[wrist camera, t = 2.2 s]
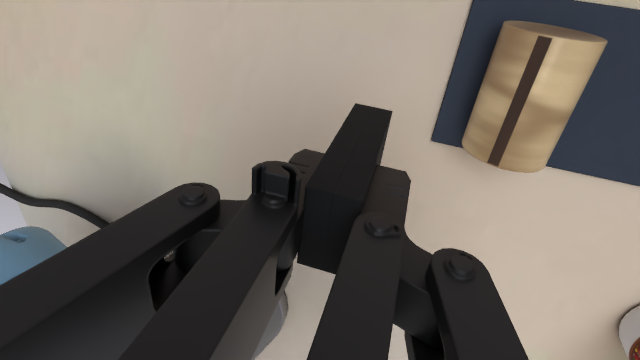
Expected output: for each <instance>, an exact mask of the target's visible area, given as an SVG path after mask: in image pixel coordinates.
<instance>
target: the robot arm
mask: <svg viewBox="0 0 640 360" xmlns="http://www.w3.org/2000/svg"><path fill="white" fill-rule="evenodd" d="M391 115H392V111H389V110H384V109H380V108H375V107H370V106H365V105H360V104H356V103H355V105H354V107H353V108H352V110H351V112H350V113H349V115H348V117H347V118H346V120H345V122H344V123H343V125H342V127H341V128H340V130H339V131H338V133H337V135H336V136H335V138H334V140H333V141H332V143H331V145H330V146H329V148H328V150H327V151H326V153H325V154H324V153H320V152H316V151H312V150H308V149H304V150H302V151H300V152H298V153H295V154H294V155H293V157H292V158H291V159H290V161H289V163H286V162H280V161H266V162H263V163H259V164H257V165H256V166H254V167H253V168H252V194H251V196H250V197H249V198H248V199H247V200H240V201H235V200H220V194H219V192H218V190H217V189H216V188H214V187H213V186H212V185H208V184H205V183H188V184H183V185H181V186H178V187H175V188H174V189H172V190H170V191H168V192H166V193H165V194H163V195H161V196H159V197H158V198H156V199H154V200H152V201H150V202H149V203H147V204H145V205H143V206H141V207H140V208H138V209H136V210H134V211H132V212H131V213H129V214H127V215H125V216H123V217H122V218H120V219H118V220H116V221H114V222H113V223H111V224H109V223H107V222H106V221H104V220H103V219H101V218H99V217H98V216H96V215H94V214H93V213H91V212H89V211H87V210H85V209H83V208H81V207H78V206H76V205H74V204H71V203H68V202H64V201H59V200H44V199H34V198H30V197H27V196H25V195H23V194H21V193H19V192H17V191H15V190H13V189H11V188H8V187H7V186H5V185H3V184H1V183H0V193H2V194H4V195H6V196H8V197H10V198H12V199H14V200H16V201H18V202H20V203H23V204H26V205H30V206H36V207H53V208H59V209H63V210H66V211H69V212H71V213H74V214H76V215H78V216H80V217H82V218H84V219H86V220H88V221H89V222H91V223H93V224H94V225H96V226H98V227H99V228H101V229H100V230H98V231H96V232H95V233H93V234H91V235H89V236H87V237H86V238H84V239H82V240H80V241H79V242H77V243H75V244H73V245H71V246H70V247H66V246H65V245H64V244H63V243H62V242H61V241H59V240H58V239H57V238H56V237H55V236H54V235H53V234H51V233H50V232H49V231H47V230H45V229H43V228H39V227H22V228H18V229H15V230H12V231H9V232H6V233H4V234H2V235H0V360H254V359H255V358H256V357H257V356H258V355H259V354H260V353H261V352H262V351H263V350H264V349H265V347H266V346H267V345H268V344H269V343H270V342H271V341H272V340H273V339H274V338H275V337H276V336H277V334H278V333H279V331H280V329H281V327H282V325H283V323H284V320H285V318H286V315H287V300H286V296H285V293H284V289H285V287H286V285H287V283H288V281H289V279H290V277H291V273H292V266H293V261H294V259H295V257H296V255H297V253H298V258H297V263H299V264H302V265H306V266H309V267H313V268H316V269H319V270H323V271H326V272H330V273H333V274H336V276H335V279H334V282H333V285H332V287H331V290H330V293H329V296H328V299H327V302H326V305H325V308H324V311H323V314H322V317H321V319H320V322H319V325H318V328H317V331H316V334H315V337H314V340H313V343H312V346H311V348H310V351H309V354H308V357H307V360H388V354H389V347H390V340H391V333H392V326H393V324H395V325H397V326H398V327H400V328H401V329H403V330H405V341H406V347H407V353H408V359H409V360H529V359H528V357H527V355H526V353H525V351H524V348H523V346H522V344H521V342H520V340H519V337H518V335H517V333H516V331H515V329H514V326H513V324H512V322H511V320H510V318H509V316H508V313H507V311H506V309H505V307H504V305H503V302H502V300H501V298H500V296H499V294H498V291H497V289H496V287H495V285H494V283H493V281H492V278H491V276H490V274H489V272H488V270H487V269H486V267H485V266H484V265H483V263H482V262H480V261H479V260H478V259H477V258H476V257H474V256H473V255H471V254H468V253H466V252H464V251H461V250H457V249H453V248H448V249H441V250H438V251H436V252H435V253H434V254H433V255H432V254H431V253H429V252H427V251H425V250H423V249H421V248H420V247H418V246H416V245H415V244H414V243H413V242H412V241H411V240H410V239H409V238H408V236H407V235H406V232H405V228H404V224H405V217H406V211H407V204H408V197H409V190H410V183H411V180H410V178H409V177H408V175H407V173H406V172H405V171H401V170H397V169H393V168H388V167H384V166H380V163H381V158H382V154H383V150H384V145H385V141H386V137H387V132H388V128H389V124H390V119H391ZM171 251H174V253H173V254H172V255H171V256H169V257H167V258H165V259H164V256H166V255H167V254H168V253H170V252H171Z"/></svg>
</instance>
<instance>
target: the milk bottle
mask: <svg viewBox="0 0 640 360" xmlns="http://www.w3.org/2000/svg"><path fill="white" fill-rule="evenodd" d="M619 338H620V341H621V343H622V345H623V348H624V350H625V352H626V354H627V357H628V359H629V360H640V305H639V306H637V307H636V308H634V309H632V310H631V311H630V312H628V313H627V314H626V315H625V316H624V318H623V319H622V320H621V323H620V325H619Z"/></svg>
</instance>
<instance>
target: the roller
mask: <svg viewBox="0 0 640 360" xmlns="http://www.w3.org/2000/svg"><path fill="white" fill-rule="evenodd" d="M607 43H608V41H607V40H606V39H604V38H602V37H599V36H596V35H593V34H590V33H586V32H582V31H578V30H573V29H569V28H564V27H559V26H553V25H548V24H541V23H534V22H526V21H505V22H503V25H502V28H501V31H500V33H499V36H498V39H497V42H496V45H495V48H494V50H493V53H492V56H491V59H490V62H489V65H488V68H487V70H486V73H485V76H484V79H483V82H482V85H481V87H480V90H479V93H478V96H477V99H476V102H475V105H474V107H473V110H472V113H471V116H470V119H469V122H468V125H467V127H466V130H465V133H464V136H463V139H462V145H463V147H464V149H465V150H466V151H467V152H468V153H469V154H471V155H472V156H474V157H475V158H477V159H479V160H481V161H483V162H485V163H487V164H489V165H492V166H495V167H498V168H501V169H505V170H509V171H514V172H524V173H531V172H537V171H540V170H542V169H543V168H544V167H545V166H546V164H547V162H548V160H549V158H550V156H551V154H552V152H553V150H554V148H555V146H556V144H557V142H558V140H559V138H560V136H561V134H562V132H563V130H564V128H565V126H566V124H567V122H568V120H569V118H570V116H571V114H572V112H573V110H574V108H575V106H576V104H577V102H578V100H579V98H580V96H581V94H582V92H583V90H584V88H585V86H586V84H587V82H588V80H589V78H590V76H591V74H592V72H593V70H594V68H595V66H596V65H597V63H598V61H599V59H600V57H601V55H602V53H603V51H604V49H605V47H606V45H607Z"/></svg>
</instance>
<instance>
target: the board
mask: <svg viewBox="0 0 640 360" xmlns="http://www.w3.org/2000/svg"><path fill="white" fill-rule="evenodd" d="M505 21H526V22H534V23H541V24H548V25H553V26H559V27H564V28H569V29H573V30H578V31H582V32H586V33H590V34H593V35H596V36H599V37H602V38H604V39H606V40H607V41H608V43H607V45H606V47H605V49H604V51H603V53H602V55H601V57H600V59H599V61H598V63H597V65H596V66H595V68H594V70H593V72H592V74H591V76H590V78H589V80H588V82H587V84H586V86H585V88H584V90H583V92H582V94H581V96H580V98H579V100H578V102H577V104H576V106H575V108H574V110H573V112H572V114H571V116H570V118H569V120H568V122H567V124H566V126H565V128H564V130H563V132H562V134H561V136H560V138H559V140H558V142H557V144H556V146H555V148H554V150H553V152H552V154H551V156H550V158H549V160H548V162H547V164H546V166H549V167H553V168H558V169H562V170H567V171H572V172H576V173H581V174H585V175H590V176H595V177H599V178H604V179H608V180H613V181H618V182H622V183H627V184H631V185H636V186H640V10H637V9H630V8H623V7H616V6H609V5H602V4H595V3H588V2H582V1H575V0H473V3H472V6H471V9H470V13H469V16H468V19H467V23H466V26H465V29H464V32H463V36H462V39H461V42H460V46H459V49H458V52H457V56H456V59H455V62H454V66H453V69H452V72H451V75H450V79H449V82H448V85H447V89H446V92H445V95H444V99H443V102H442V105H441V108H440V112H439V115H438V118H437V122H436V125H435V128H434V132H433V135H432V138H431V141H433V142H438V143H443V144H447V145H452V146H456V147H461V148H464V147H463V145H462V139H463V136H464V133H465V130H466V127H467V125H468V122H469V119H470V116H471V113H472V110H473V107H474V105H475V102H476V99H477V96H478V93H479V90H480V87H481V85H482V82H483V79H484V76H485V73H486V70H487V68H488V65H489V62H490V59H491V56H492V53H493V50H494V48H495V45H496V42H497V39H498V36H499V33H500V31H501V28H502V25H503V22H505Z"/></svg>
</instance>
